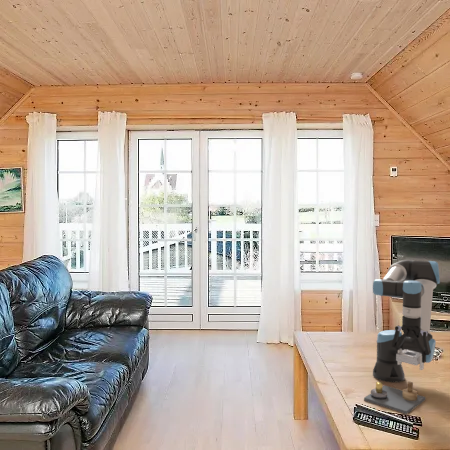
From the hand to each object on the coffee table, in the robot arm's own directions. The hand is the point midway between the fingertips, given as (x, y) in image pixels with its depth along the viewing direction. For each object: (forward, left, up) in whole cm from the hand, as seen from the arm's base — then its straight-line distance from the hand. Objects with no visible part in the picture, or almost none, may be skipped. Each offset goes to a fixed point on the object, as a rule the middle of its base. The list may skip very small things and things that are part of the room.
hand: (410, 366), depth 201 cm
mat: (+4, -5, -15) cm, 17 cm away
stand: (0, 0, -14) cm, 14 cm away
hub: (+8, -10, -14) cm, 19 cm away
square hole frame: (0, 0, +3) cm, 3 cm away
